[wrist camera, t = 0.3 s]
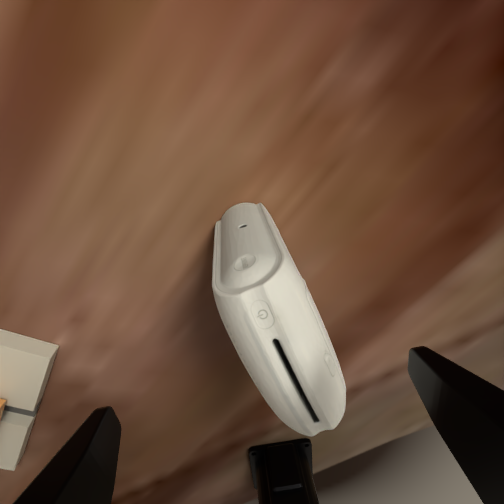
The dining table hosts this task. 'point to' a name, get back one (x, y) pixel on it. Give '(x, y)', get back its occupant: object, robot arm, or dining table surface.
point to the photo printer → (275, 321)
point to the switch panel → (21, 390)
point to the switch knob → (2, 406)
